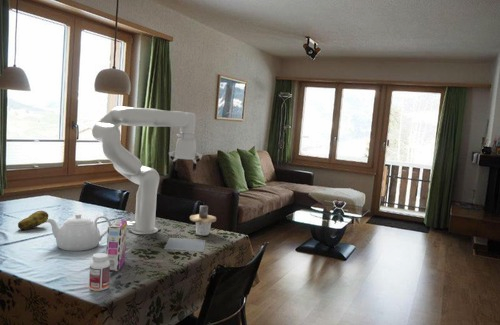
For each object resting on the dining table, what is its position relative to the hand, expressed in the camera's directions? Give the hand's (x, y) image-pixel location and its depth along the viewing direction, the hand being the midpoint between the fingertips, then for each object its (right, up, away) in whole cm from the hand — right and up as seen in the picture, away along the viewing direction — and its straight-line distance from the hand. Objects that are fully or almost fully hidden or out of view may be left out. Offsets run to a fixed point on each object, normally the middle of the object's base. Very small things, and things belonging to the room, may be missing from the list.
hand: (184, 169), depth 216 cm
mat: (+5, -34, -28) cm, 44 cm away
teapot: (-38, -31, -39) cm, 63 cm away
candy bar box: (-17, -35, -59) cm, 71 cm away
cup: (+10, -32, -10) cm, 35 cm away
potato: (-67, -27, -21) cm, 76 cm away
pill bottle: (-16, -37, -79) cm, 89 cm away
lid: (+11, -24, -11) cm, 29 cm away
